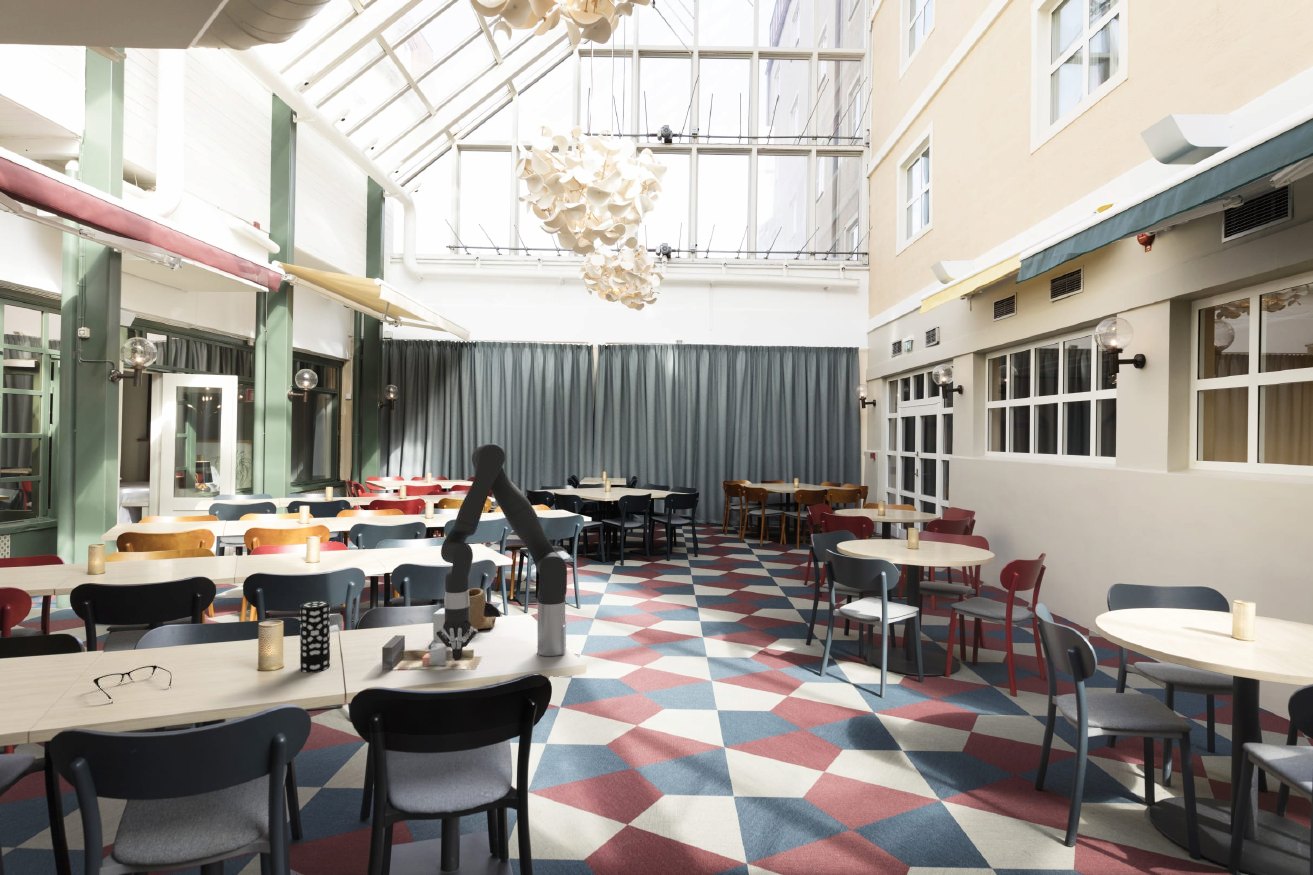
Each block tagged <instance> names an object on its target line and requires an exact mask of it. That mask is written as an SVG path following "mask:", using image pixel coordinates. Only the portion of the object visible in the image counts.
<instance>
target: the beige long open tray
mask: <svg viewBox="0 0 1313 875" xmlns="http://www.w3.org/2000/svg"><path fill="white" fill-rule="evenodd" d="M405 638H406V635H401V634H400V635H398V634H397V635H396V634H395V635H394V636H393V637H392V638H391V639H389V641H387V642H386V643H385V644H384V645H383V646H382V648H381V654H382V655H381V664H382V665H381V669H382V670H381V671H382V672H383V671H467V670H468V671H470V670H473V671H475V670H476V669H477V668H478V666H479V665H480V662H482V659H483V658H484V656H483V655H482V656H479V655H478V656H477V655H476V656H475V653H474V652H475V650H474V649H473V648H471V649H469V648H468V649H465V648H464V649H463V648H462V649H463V652H462V653H463V656H462V658H461V659H460V660H459V661H455V660H454V659H453V657H452V648H451V659H450V661H449V662H448V663H447V665H441V666H429V665H423V666H422V658H423V657H424V655H425V654H429V650H428V649H406V644H405V643H406V639H405Z"/></svg>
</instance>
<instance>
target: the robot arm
mask: <svg viewBox="0 0 1313 875" xmlns="http://www.w3.org/2000/svg"><path fill="white" fill-rule="evenodd" d="M505 461H506V454H505V451H504V449H503V447H501V446H500V444H496V443H487V444H486V443H485V444H483V445H480V446H478V447H476V448H475V449H474V450H473V451H472V455H471V463H472V466H473V467H474V469H475V475H474V478H473V481H472V483H471V485H470V488H469V490H468V492H467V493H466V495H465V497H464V499H463V501H462V503H461V505H460V507H459V510H458V513H457V515H456V518H455V521H454V525H453V526H452V528H451V529H450V530H449V533H448V534H447V535H446V537H445V539H444V540H443V542H442V544H441V549H440V556H441V559H442V561H444V562H446V563H449V564H452V567H451V571H449V572H446V574H445V577H444V578H445V579H444V580H445V581H444V582H445V584H444V585H445V586H444V587H445V589H444V590H445V592H444V600H443V601H444V602H443V604H444V608H445V623H444V625H443V628H442V629H439V630H438V631H437V633H436V634H437V636H438V637H439V638H440V639H441V641H442V642H443V643H444V644H445V645H446V647H451V649H452V657H453V659H454V660H455V661H459V660H460V659H461V658H462V656H463V653H462V652H463V648H466V647H467V646H468V645H469V644H470V642H471V641H472V640H473V638H475V636H476V635H477V633H478V632H479V629H474V628H473V627H471V623H470V612H469V577H470V576H469V575H470V572H471V569H472V564H473V559H474V558H473V557H474V553H473V549H472V547H471V545H470V544H469V543H468V542H466V540H467V539H468V538H469V537H471V536H474V535H475V534H476V531H477V529H478V526H479V522H480V520H481V518H482V514H483V511H484V508H485V504H486V503H487V500H488V497H489V496H490V495H489V494H490V492H491V493H492V495H493V497H494V499H495V501H496V503H497V505H498V506H499V508H500V510H501V512H502V514H503V515H504V517H505V519H506V520H507V522H508V524H509V525H510V527H511V529H512V530H513V532H514V533H515V534H516V536H517V537H518V539H519V540H520V541H521V542H522V543H523V545H524V546H525V548H526V549H527V550H528V553H529V555H530V556H531V559H532V561H533V563H534V565H535V568H536V571H537V573H538V584H539V585H538V593H537V645H536V646H537V654H538V655H540V656H544V657H557V656H561V655H562V656H564V655H565V654H566V650H567V621H566V595H567V591H568V567H567V563H566V560H565V559H564V558H563V557H562V556H561V555H560V554H559V553H558V552H557V550H556V549H555V548H554V546H553V545H552V544H551V542H550V541H549V539H548V538H547V536H546V534H545V532H544V529H543V526H542V523H541V521H540V519H539V517H538V514H537V512H536V510H535V509H534V507H533V505H532V503H531V502H530V500H529V499H528V497H527V496H526V495H525V494H524V493H523V491H522V490H521V489H519V487H517V485H516V484H515V483H514V482H513V481H512V480H511V479H510V478H509V476H508V474H507V473H506V470H505V469H504V467H503V466H504V463H505ZM445 631H446V632H445ZM445 633H447V634H448V635H449V636H450V638H451V641H450V639H449V638H448V637H447V636H446V635H445ZM467 633H468V634H469V636H468V637H467V638H466V640H464V637H465V636H466V634H467ZM457 642H458V643H457Z"/></svg>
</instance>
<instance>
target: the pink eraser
mask: <svg viewBox="0 0 1313 875" xmlns="http://www.w3.org/2000/svg"><path fill="white" fill-rule="evenodd" d="M423 665H429V654H425V655H424V657H423V658H422V666H423Z"/></svg>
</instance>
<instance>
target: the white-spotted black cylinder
mask: <svg viewBox="0 0 1313 875" xmlns="http://www.w3.org/2000/svg"><path fill="white" fill-rule="evenodd" d="M330 620H331V603H330V601H327V600H315V601H314V600H313V601H307V602H304V603H301V604H300V606H299V624H300V625H299V627H300V628H299V630H300V631H299V634H300V636H299V637H300V638H299V639H300V641H299V642H300V643H299V647H300V649H299V653H300V655H299V658H300V659H299V661H300V664H299V665H300V667H299V669H300V671H301V672H302V673H308V674H309V673H312V674H313V673H317V672H322V671H325V670H328V669H329V668H330V667H331V621H330Z"/></svg>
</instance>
